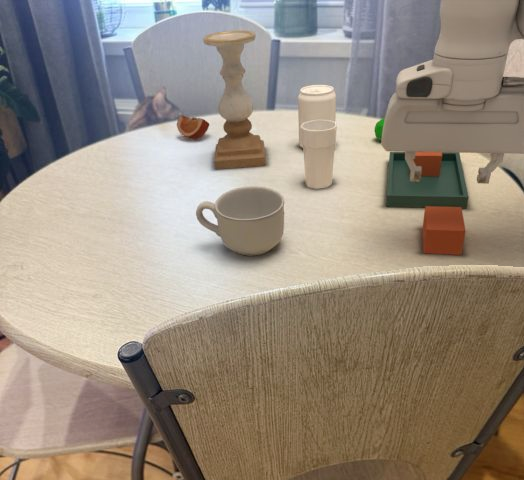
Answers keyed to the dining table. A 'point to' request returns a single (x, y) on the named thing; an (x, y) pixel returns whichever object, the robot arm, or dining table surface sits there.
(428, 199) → the tray
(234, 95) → the candle holder
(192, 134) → the fruit slice
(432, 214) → the orange block
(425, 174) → the orange rectangular block
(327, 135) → the cup
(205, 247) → the dining table surface
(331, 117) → the beverage can
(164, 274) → the dining table surface
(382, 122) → the polyhedron
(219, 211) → the teacup
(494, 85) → the robot arm
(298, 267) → the dining table surface
